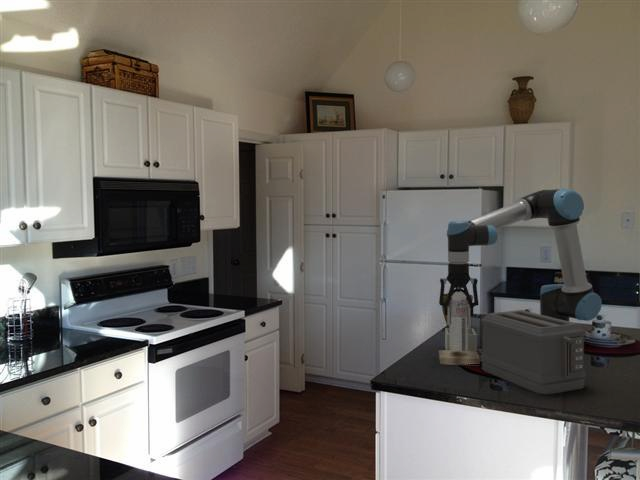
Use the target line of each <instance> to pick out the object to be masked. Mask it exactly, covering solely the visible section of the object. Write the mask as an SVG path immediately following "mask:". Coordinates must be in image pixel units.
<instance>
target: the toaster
mask: <svg viewBox="0 0 640 480" xmlns="http://www.w3.org/2000/svg"><path fill="white" fill-rule="evenodd" d="M569 321H570V320H569ZM569 321H565V320H561V319H556V318H552V317H548V316H544V315H540V313H535V312H531V311H526V310H523V309H519V310H509V311H499V312H489V313H487V314H486V315H485V316H484V317H483V318H481V324H482V353H481V355H480V362H481V370H482V371H483V370H484V371H483V372H486V373H487V374H490V375H493V376H495V377H498V378H500V379H502V380H504V381H507V382H508V383H511V384H513V385H516V386H519V387H521V388H522V389H523V388H524V389H526V390H528V391H530V392H533V393H535V394H539V395H554V394H560V393H565V392H571V391H577V390H582V389H584V388H585V379H586V377H587V373H586V369H584V364H585V363H584V359H585V357H584V356H585V355H584V354H585V349H584V348H585V336H586V330H585V329H584V328H582V327H581V326H580V325H579V323H575V322H572V321H570V322H569Z"/></svg>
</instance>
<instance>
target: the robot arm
mask: <svg viewBox="0 0 640 480" xmlns="http://www.w3.org/2000/svg"><path fill="white" fill-rule="evenodd" d="M584 209H585V203H584V200H583V197H582V196H581V194H580V193H579V192H577V191H575V190H574V189H567V188H556V189H542V190H538V191H535V192H533V193H530V194H527V195H525V196H522V197H520V198H517V199H516V200H515V201H514V203H511V204H509V205H507V206H504V207H501V208H498V209H495V210H493V211H490V212H488V213H486V214H485V213H484V214H483V215H481V216H478V217H476V218H472V219H469V220H451V221H450V222H448V225H447V230H446V237H447V261H448V264H447V276H446V277H444V278H443V277H442V278H440V279H439V283H440V288H439V289H440V291H439V301H438V304H439V305H440V306H441V307H442V306H444V314H445V316H447V324H448V325H450V307H449V306H448V304H449V301H450V296H451V294H452V293H453V290H454V289H456V288H462V289H463V290H464V291H465V293H466V294H467V296H468V302H469V305H470V306H468V325H470V316H471V317H472V316H474V307H476V306H479V297H478V289H477V287H478V286H477V285H478V281H479V280H478V279H477V278H476V277H475V278H474V277H471V275H470V264H469V261H470V247H475V246H478V247H479V246H492V245H494V244H496V242H497V240H498V238H499V237H498V234H499V233H498V230H500V229H503V228H505V227H507V226H510V225H513V224H516V223H517V222H520V221H524V222H525V221H530V220H533V219H547V223H548V226H549V227H550V228H552V229H553V232H554V237H555V242H556V249H557V253H558V259H559V265H560V268H561V275H562V280H563V283H558V284H555V283H554V284H545V285H542V286H541V288H540V293H539V301H540V302H539V303H540V304H539V314H540V315H544V316H548V317H552V318H556V319H561V320H565V321H569V322H571V321H570V318H571V319H575V320H578V321H585V322H589V321H592V320H594V319H595V318H596V317H597V316H598V315H599V313H600V312H601V310H602V307H603V306H602V305H603V303H602V302H603V301H602V298H601V296H600V295H599V294H597V293H595V292H594V289H593V285H592V283H590V282H588V279H587V273H586V268H585V263H584V257H583V252H582V247H581V242H580V236H579V231H578V224H579V222H580V221H581V219H580V217H581V216H582V215H583V211H584ZM447 281H448V283H449V284H450V287H449V288H448V292H447V293H448V295H447V297H446V300H445V303H444V302H443V297H444V294H445V288H446V287H445V285H446V284H447ZM469 282H470V283H471V284H472V293H473V294H472V295H473V301H472V300H471V297H470V295H471V294H470V293H469V290H468V287H467V285H468V284H469ZM469 294H470V295H469ZM444 314H443V315H444ZM447 324H446V325H447Z"/></svg>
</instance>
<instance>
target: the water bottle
mask: <svg viewBox="0 0 640 480" xmlns="http://www.w3.org/2000/svg"><path fill="white" fill-rule="evenodd" d="M449 330H450V331H449V332H450V333H449V337H450V338H449V339H450V340H449V342H450V343H449V344H450V345H449V346H450V350H451V351H453V352H459V353H462V352H467V351H468V296H467V294H466V293H465V291H464V289H463V288H454V290H453V293H452V294H451V296H450V326H449Z"/></svg>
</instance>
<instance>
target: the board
mask: <svg viewBox="0 0 640 480" xmlns="http://www.w3.org/2000/svg"><path fill="white" fill-rule="evenodd" d="M438 359H439V364H440V365H442V366H443V365H448V366H449V365H452V366H471V365H470V364H480V363H481V360H480V359H481V357H480V356H479V354H478V351H477V352H476V351H467V352H462V353H459V352H453V351H451V350H446V349H445V350H444V349H443V350H442V349H439V350H438ZM468 364H469V365H468Z"/></svg>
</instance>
